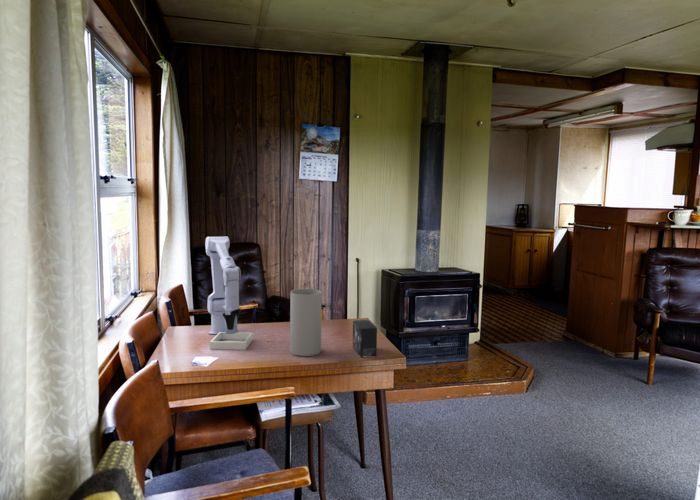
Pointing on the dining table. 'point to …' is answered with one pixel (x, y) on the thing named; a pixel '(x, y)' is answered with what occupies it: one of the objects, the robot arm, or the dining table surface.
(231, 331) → the cylinder
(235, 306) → the robot arm
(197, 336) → the dining table surface
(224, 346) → the grey shallow square tray
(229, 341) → the pad
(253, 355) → the dining table surface
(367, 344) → the small box
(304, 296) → the cylinder vase
